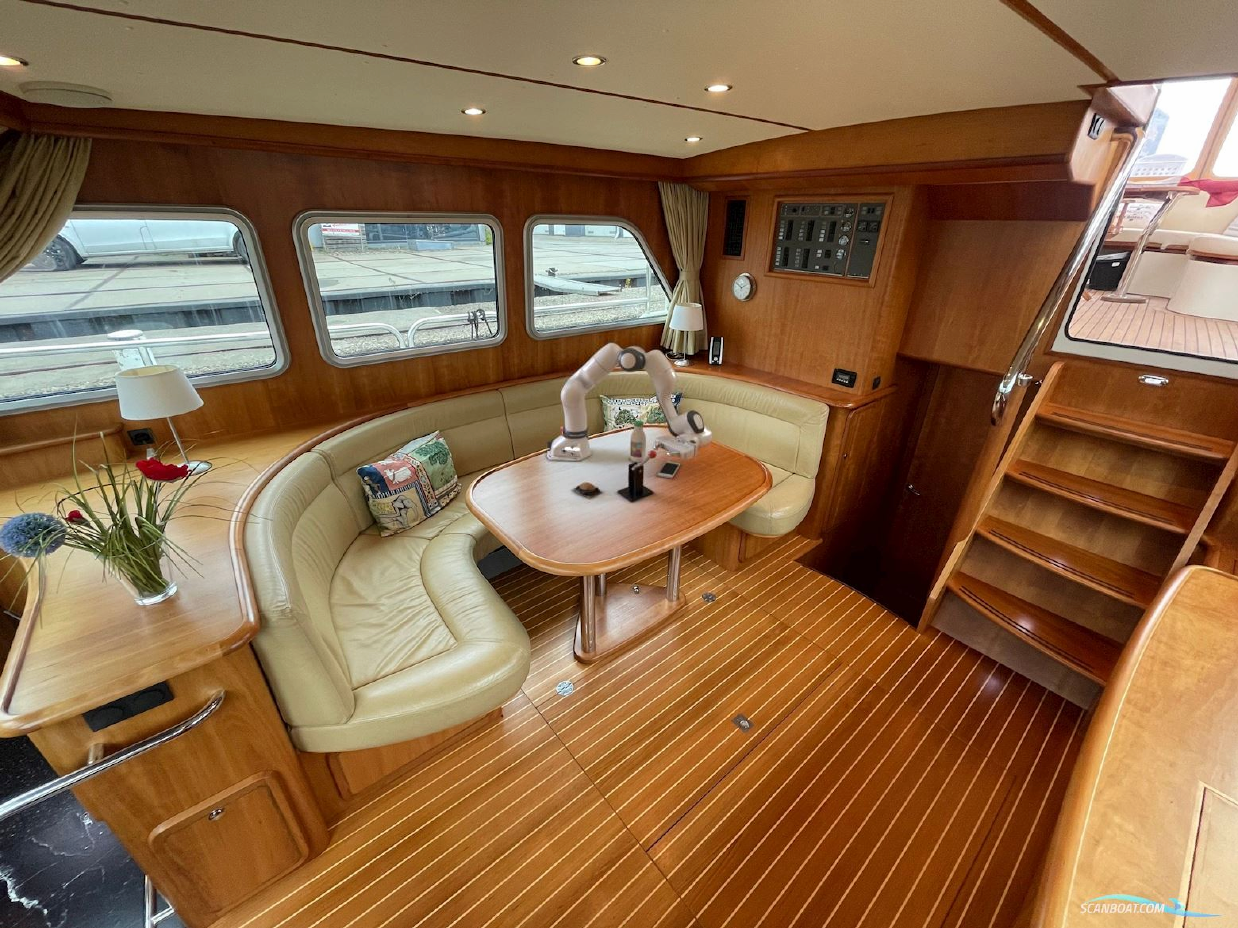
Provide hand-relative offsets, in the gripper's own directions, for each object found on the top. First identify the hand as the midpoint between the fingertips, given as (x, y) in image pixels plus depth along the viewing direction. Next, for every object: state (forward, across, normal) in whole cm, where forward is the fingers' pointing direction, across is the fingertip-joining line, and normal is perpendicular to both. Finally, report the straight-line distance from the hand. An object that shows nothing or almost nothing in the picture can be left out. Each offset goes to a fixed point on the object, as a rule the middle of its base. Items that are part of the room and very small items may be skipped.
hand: (661, 451), depth 210 cm
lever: (+9, 0, +4) cm, 9 cm away
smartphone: (-12, -7, +16) cm, 22 cm away
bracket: (+14, 0, +16) cm, 21 cm away
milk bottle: (-9, -26, +16) cm, 32 cm away
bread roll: (+30, -14, +16) cm, 37 cm away
